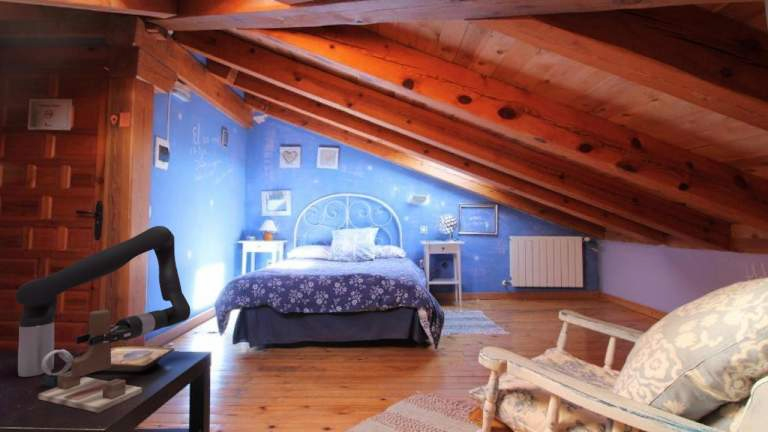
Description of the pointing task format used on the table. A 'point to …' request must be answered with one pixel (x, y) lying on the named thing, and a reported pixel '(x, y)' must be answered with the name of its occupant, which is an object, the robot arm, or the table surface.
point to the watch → (52, 378)
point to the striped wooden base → (89, 392)
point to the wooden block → (95, 346)
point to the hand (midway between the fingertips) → (82, 341)
